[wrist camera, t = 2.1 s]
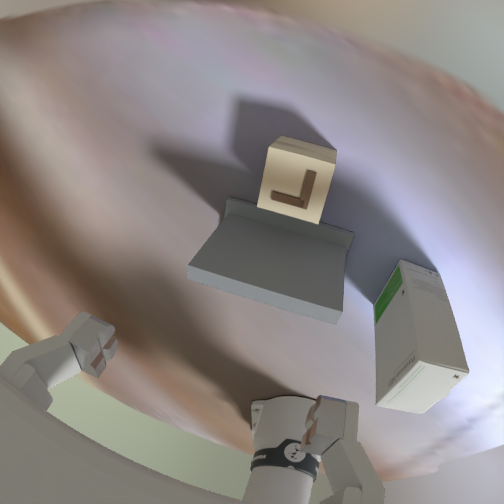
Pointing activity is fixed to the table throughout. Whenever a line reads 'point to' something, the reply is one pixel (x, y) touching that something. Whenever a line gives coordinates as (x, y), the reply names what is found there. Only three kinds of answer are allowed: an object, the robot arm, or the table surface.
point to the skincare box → (415, 341)
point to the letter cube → (297, 178)
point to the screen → (276, 260)
